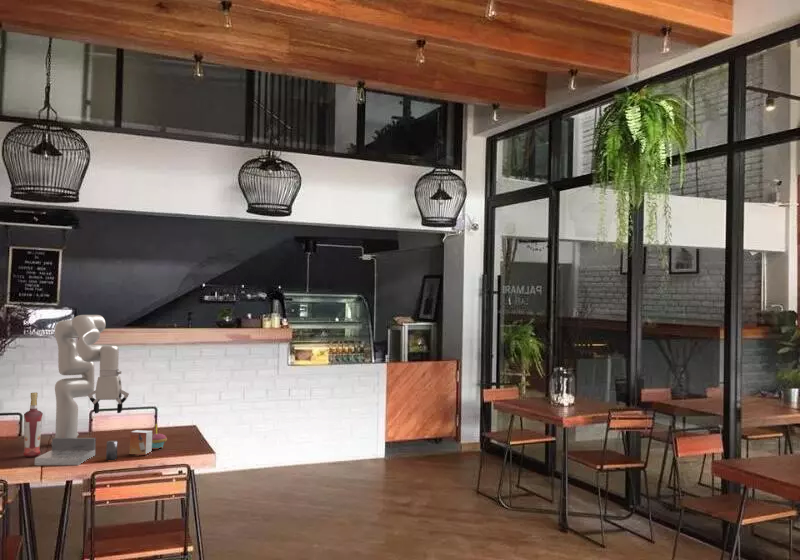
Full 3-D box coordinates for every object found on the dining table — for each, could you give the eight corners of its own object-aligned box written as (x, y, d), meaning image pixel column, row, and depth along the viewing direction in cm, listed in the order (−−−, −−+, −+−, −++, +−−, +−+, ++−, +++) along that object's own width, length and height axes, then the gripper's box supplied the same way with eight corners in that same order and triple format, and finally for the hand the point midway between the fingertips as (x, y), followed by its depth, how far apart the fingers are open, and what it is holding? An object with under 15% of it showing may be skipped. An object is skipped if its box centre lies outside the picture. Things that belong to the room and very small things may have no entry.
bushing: (108, 458, 295) (108, 440, 296) (118, 458, 296) (119, 440, 296) (104, 461, 291) (105, 442, 291) (114, 461, 291) (115, 442, 292)
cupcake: (144, 448, 317) (145, 423, 318) (161, 446, 323) (162, 421, 324) (152, 451, 311) (153, 425, 312) (169, 448, 317) (170, 423, 318)
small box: (129, 455, 303) (129, 431, 303) (135, 452, 308) (136, 429, 309) (145, 456, 302) (146, 432, 302) (151, 453, 307) (152, 430, 308)
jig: (53, 455, 299) (54, 437, 300) (95, 455, 301) (95, 437, 301) (34, 465, 281) (35, 446, 282) (78, 465, 283) (79, 446, 283)
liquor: (41, 457, 296) (43, 393, 297) (22, 458, 293) (24, 394, 294) (40, 453, 303) (43, 391, 304) (22, 455, 299) (24, 392, 300)
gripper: (131, 372, 299) (131, 411, 299) (92, 373, 298) (91, 411, 298) (126, 374, 292) (125, 413, 291) (85, 374, 291) (84, 414, 290)
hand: (108, 412), depth 294 cm, fingers open, 9 cm apart
